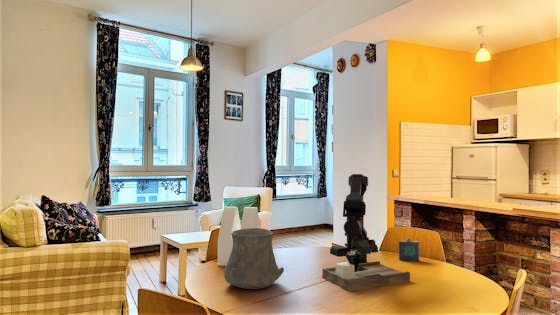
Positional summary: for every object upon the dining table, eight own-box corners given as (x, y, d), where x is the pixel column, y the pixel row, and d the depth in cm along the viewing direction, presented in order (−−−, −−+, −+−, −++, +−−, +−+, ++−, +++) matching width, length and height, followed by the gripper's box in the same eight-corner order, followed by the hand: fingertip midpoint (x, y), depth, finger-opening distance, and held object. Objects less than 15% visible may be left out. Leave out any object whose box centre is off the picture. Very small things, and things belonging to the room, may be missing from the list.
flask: (418, 259, 173) (418, 237, 174) (420, 261, 170) (420, 238, 171) (398, 259, 174) (398, 236, 174) (400, 261, 171) (399, 238, 171)
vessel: (277, 298, 122) (277, 238, 123) (214, 293, 127) (215, 235, 127) (289, 278, 144) (289, 227, 144) (235, 275, 148) (235, 225, 149)
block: (335, 275, 140) (335, 263, 140) (346, 273, 142) (346, 262, 142) (343, 279, 135) (343, 266, 135) (354, 277, 137) (354, 265, 138)
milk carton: (231, 255, 182) (231, 204, 182) (261, 256, 179) (261, 205, 180) (217, 265, 163) (217, 209, 164) (251, 267, 160) (251, 209, 161)
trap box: (322, 277, 145) (322, 268, 145) (378, 269, 157) (378, 261, 157) (349, 291, 129) (349, 281, 129) (409, 281, 141) (409, 272, 141)
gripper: (346, 236, 130) (346, 281, 130) (387, 232, 138) (387, 274, 137) (329, 231, 140) (329, 272, 140) (368, 228, 148) (368, 267, 148)
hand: (354, 271), depth 141 cm, fingers closed
